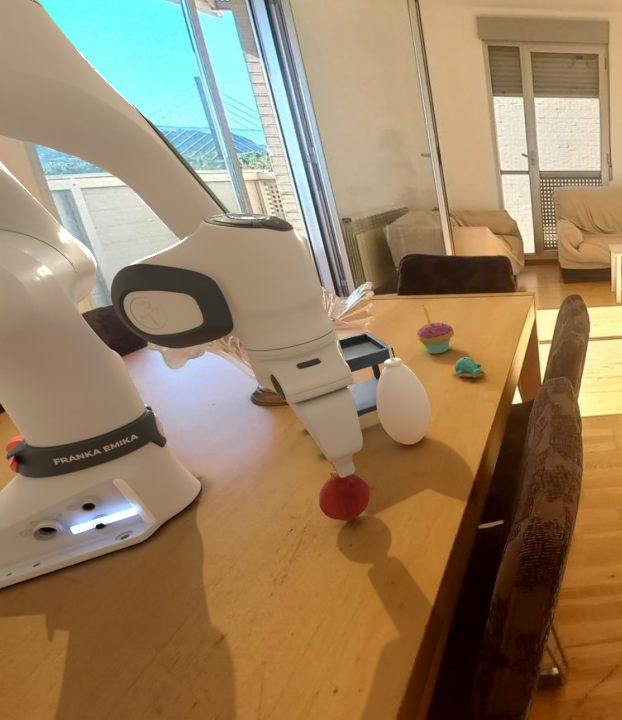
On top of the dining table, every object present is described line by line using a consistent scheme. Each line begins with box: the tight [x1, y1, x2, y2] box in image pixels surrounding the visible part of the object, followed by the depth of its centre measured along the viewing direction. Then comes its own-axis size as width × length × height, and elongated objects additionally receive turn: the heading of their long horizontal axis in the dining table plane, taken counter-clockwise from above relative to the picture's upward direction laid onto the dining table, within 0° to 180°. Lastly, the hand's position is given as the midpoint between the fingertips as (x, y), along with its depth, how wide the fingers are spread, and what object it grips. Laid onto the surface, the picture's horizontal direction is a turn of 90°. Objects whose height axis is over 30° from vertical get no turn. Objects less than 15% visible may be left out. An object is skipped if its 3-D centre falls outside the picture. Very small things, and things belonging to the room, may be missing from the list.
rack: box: [338, 331, 396, 418], centre depth 84 cm, size 14×12×15 cm
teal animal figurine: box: [454, 356, 485, 379], centre depth 105 cm, size 6×7×4 cm
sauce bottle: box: [376, 344, 432, 445], centre depth 78 cm, size 8×8×18 cm
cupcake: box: [416, 304, 455, 355], centre depth 118 cm, size 9×8×12 cm
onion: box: [318, 470, 371, 522], centre depth 63 cm, size 6×6×8 cm
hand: (335, 457), depth 60 cm, fingers open, 8 cm apart
